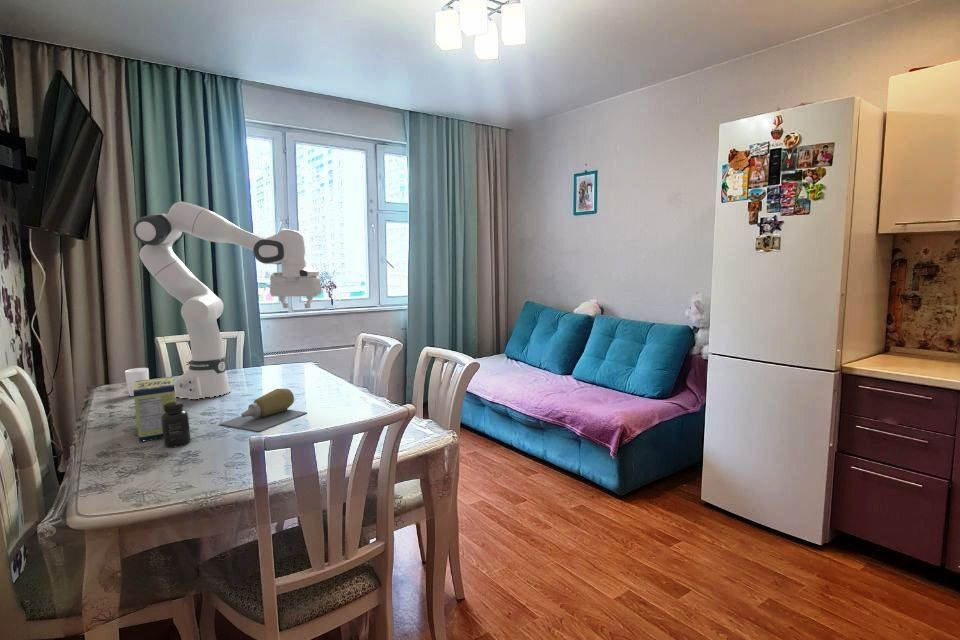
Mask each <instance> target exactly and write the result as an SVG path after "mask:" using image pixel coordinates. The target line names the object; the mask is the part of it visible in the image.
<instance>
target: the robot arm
mask: <svg viewBox="0 0 960 640" xmlns="http://www.w3.org/2000/svg"><path fill="white" fill-rule="evenodd" d="M132 231H133V235H134V237H135V239H137V240H138V241H139V242H140V243H142V244H144V245H143V246H142V247H141V249H140V251H139V254H138V256H139V259H140V260H141V262H142V263H143V265H144V267H146V269H147V270H148V272H149V273H150V274H151V276H152V277H153V278H154V279H155V280H156V281H157V282H158V283H159V285H160V286H161V287H162V288H163V289H164V290H165V291H166V293H167V294H169V295H170V296H172V297H173V298H175V299H176V300H177V301H179V302H180V303H181V304H182V306H181V310H180V315H181V317H182V319H183V320H184V323H185V326H186V327H185V328H186V331H187V334H188V338H189V341H190V342H189V343H190V352H191V353H190V354H191V360H190V361H186V366H188V370H186V371H185V372H184V373H183V374H181V376H180V377H178V378H177V379H176V381H175V384H174V388H175V396H176V397H183V398H191V399H198V400H200V399H199V398H203V399H206V398H205V397H210V398H215V397H214V396H216V397H220V396H219V395H221V396H223V394H225V395H227V394H230V393H231V392H232V389H231V386H230V384H229V380H228V377H227V372H226V368H227V367H226V366H227V365H226V364H227V363H226V357H225V356H224V355H225V354H224V348H223V347H224V346H223V345H224V344H223V336H222V334H221V331H220V328H219V325H218V321H217V319H219V318H220V317H221V315H222V314H223V311H224V309H225V308H224V302H223V300H222V298H220V297H218V296H217V295H216V294H215V293H214V292H213V291H212V290H211V289H210V288H209V287H208V286H206V284H204V283H203V282H202V281H200V280H199V278H197V277H196V276H195V274H193V272H191V270H190V269H189V268H188V267H187V266H186V264H184V262H183V260H181V259H180V258H179V257H178V256H177V255H176V254H175V252H174V251H173V248H174V247H176V246H177V245H178V243H179V242H180V240H182V239H183V237H184V236H185V234H189V235H191V236H193V237H195V238H198V239H201V240H204V241H208V242H212V243H221V244H223V243H225V244H233V245H237V246H239V247H240V246H241V247H243V248H244V249H248V250H250V251H252V252H253V256H254V258H255V260H257V261H258V262H260V263H262V264H264V265H281V272H273V273H271V275H270V276H269V277H270V281H269V282H270V284H269V285H270V287H269V294H270V296H271V297H278V299H279V301H280V302H281V304H282V308H283V309H288V308H290V307H289V302H287V301H286V297H306V300H307V302H305V303H304V309H311V304H312V301H313V299H314V297H320V296H321V294H322V284H321V280H320V278H319V271H318V270H316V269H313V268H311V267H307V264H306V260H305V259H306V258H305V254H306V249H305V248H306V247H305V239H304V236H303V233H301V232H300V231H298V230H293V229H288V228H283V229H280V231H278V232H277V233H275V234H273V235H270V236H268V237H263V236H261V235H257V234H256V233H253V232H251V231H248V230H245V229H243V228H241V227H239V226H237V225H236V224H234V223H233V222H231V221H229V220H228V219H226V218H225V217H223V216H221V215H219V214H218V213H215V212H214V211H211V210H209V209H207V208H205V207H203V206H199V205H197V204H194V203H190V202H185V201H177V202H174V203H173V204H172V205H171V206H170V208H169V211H168V212H167V213H155V214H150V215H144V216H142V217H140V218H138V219H137V220H136V221H135V223H134V224H133V230H132ZM229 392H230V393H229ZM226 393H227V394H226Z"/></svg>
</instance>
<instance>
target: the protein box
mask: <svg viewBox="0 0 960 640" xmlns="http://www.w3.org/2000/svg"><path fill="white" fill-rule="evenodd" d="M133 393H134V397H133V400H134V407H135V416H136V418H135V419H136V425H137V433H138V442H139V441H143V440H149V441H151V440H150V439H155V438H160V439H162V438H161V437H163V432H162V423H161V417H162V415H163V414H164V413H165V412H164V405H165V404H167V403H170V402H177V400H176V399H177V398H176V397H175V383H174V376H167V377H160V378H152V379H150V378H149V380H141V381H135V386H134V391H133ZM155 440H156V439H155Z"/></svg>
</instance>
